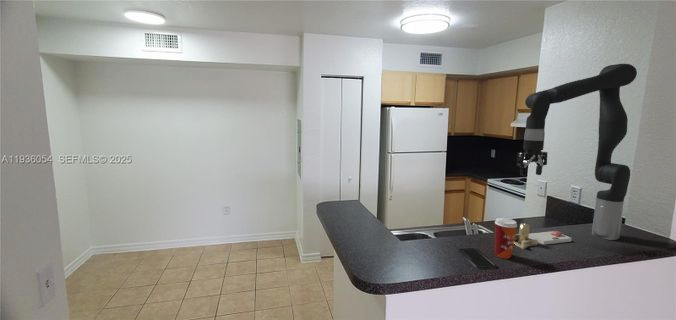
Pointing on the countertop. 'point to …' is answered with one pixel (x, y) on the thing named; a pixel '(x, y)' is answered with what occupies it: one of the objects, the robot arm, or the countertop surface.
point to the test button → (557, 233)
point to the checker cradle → (549, 238)
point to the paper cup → (504, 237)
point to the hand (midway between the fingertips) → (530, 175)
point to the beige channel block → (525, 242)
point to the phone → (477, 258)
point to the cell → (523, 232)
